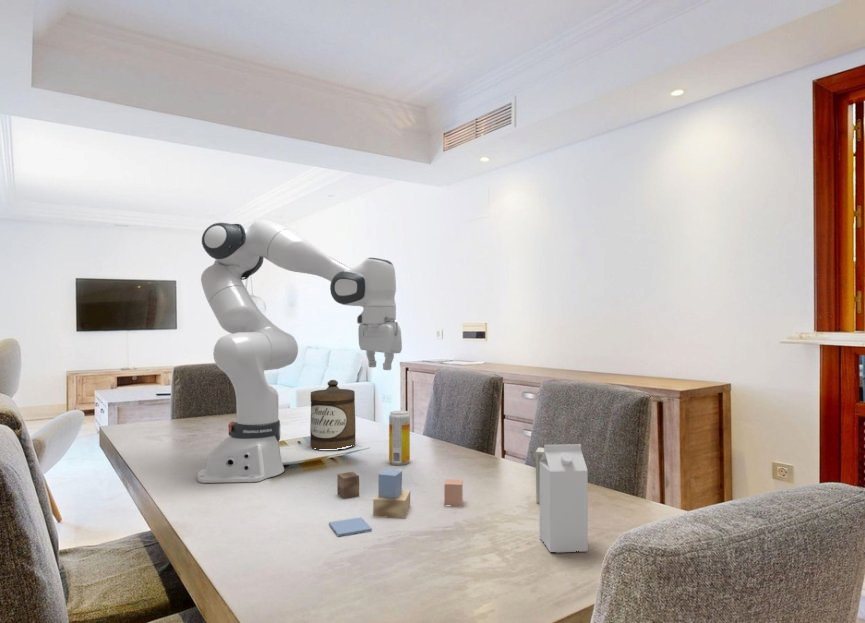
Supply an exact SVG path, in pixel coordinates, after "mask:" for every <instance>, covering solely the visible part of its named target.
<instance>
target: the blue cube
mask: <svg viewBox="0 0 865 623" xmlns="http://www.w3.org/2000/svg"><path fill="white" fill-rule="evenodd" d="M377 481H378V487H377V488H378V490H377V493H378V497H382V498H391V499H396V498H397V497H398V496H399V495H400V494H402V490H403V470H397V469H396V470H394V469H383V471H381V472H380V473H378V480H377Z"/></svg>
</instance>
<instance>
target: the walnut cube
mask: <svg viewBox="0 0 865 623" xmlns="http://www.w3.org/2000/svg"><path fill="white" fill-rule="evenodd" d="M336 488H337V490H336V492H337V496H339V497H340V498H341V499H343V500H346V499H353V498H357V497H360V475H359V474H357V473H355V472H354V471H349V472H343V473H337V486H336Z"/></svg>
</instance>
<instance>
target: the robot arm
mask: <svg viewBox="0 0 865 623" xmlns="http://www.w3.org/2000/svg"><path fill="white" fill-rule="evenodd" d="M201 245H202V247H203V249H204V251H205V253H207V255H208V256H209V257H211V258H212V259H214V263H213V264H212V265H210V266H207V268H205V270H203V272H202V274H201V277H200V281H201V286H202V289H203V292H204V295H205V298H206V300H207V302H208V304H209V307H210V308H211V310H212V312H213V314H214V317H216V320H217V321H218V323H219V326H220V327H221V328H222V329H223V330H224V331H225V332H227V333H229V334H226V335H224V336H221V337H220V338H219V339H218V340H217V341H216V343H215V345H214V347H213V359H214V362H215V365H216V366H217V368H218V369H219V370H220V371H222V372H223V373H224V374H225V375H226V376H227V377H228V379H229V380H230V382H231V384H232V387H233V389H234V393H235V400H236V403H235V404H236V405H235V407H236V421H230V422H229V423H228V437H226V439H224V440H223V441H221V443H219V444H217V445H216V446H215V447H214V448H213V449H212V450H211V451H210V452H209V454H208V457H207V460H206V465H205V467H203V468H200V470H198V472H197V478H196V480H197V481H198V482H199V483H200V484H201V483H203V484H209V483H210V484H215V483H217V484H218V483H256V482H261V481H263V480H265V479H268V478H269V479H270V478H271V477H272V478H273V477H276V476H279V475H281V474H282V473H283V472H284V471H285V467H284V464H283V460H282V455H281V447H280V440H281V421H280V420H279V394H278V391H277V389H276V388H274V387H273V386H272V385H270V384H268V381H267V380H266V375H265V371H271V370H272V371H273V370H279V369H281V368H285V367H287V366H290V365H292V364H293V363H294V362H295V360H296V359H297V357H298V354H299V346H298V342H297V340H296V338H295V337H294V336H293V335H292V334H290V333H288V332H285V331H284V330H282V329H281V328H279V327H278V326H277V325H276V324H274V323H273V322H272V321H271V320H270V319H268V317H266V315H265V314H263V313H262V311H261V310H260V309H259V307H258V306H257V304H256V303H255V301H254V300H253V298H252V296H251V295H250V293H249V291H248V289H247V288H246V286H245V285H244V283H243V280H247V279H248V278H250V276H252V275H253V274H255V273H257V272H258V271H259V270H260V269H261V267H262V265H263V263H264V259H266V260H267V261H269V262H270V263H272V264H273V265H274V266H277V267H279V268H282V269H283V270H287V271H290V272H295V273H299V274H300V273H301V274H308V275H313V276H317V277H320V278H323V279H325V280H327V281H328V282H330V285H329V286H330V289H329V290H330V295H331V298H333V300H334V301H335V302H336V303H338V304H340V305H344V306H350V307H361V308H363V309H362V311H361V313H360V314H359V315H358V316H357V318H356V323H357V324H358V329H357V330H358V334H357V336H358V346H359V349H360V350H361V351H365V352H366V353H365V354H366V358H367V361H368V362H367V363H368V365H367V366H368V367H369V368H377V360H376V356H375V355H376V353H381V354H383V356H384V362H383V363H382V369H383V371H391V370H392V363H393V361H394V356H395V354H400V353H401V352H402V349H403V344H402V343H403V342H402V331H401V327H400V325H399V323H398V321H397V305H396V301H395V295H396V291H397V280H396V270H395V266H394V264H393V263H392V261H390V260H387V259H382V258H378V257H367V258H365V259H364V260H363V261H362V262H361V263H360V264H358V265H356V266H354V267H352V268H351V267H349V266H347V265H345V264H344V263H342V262H340V261H338V260H336V259H335V258H332V257H331V256H328V255H327V254H326V253H325V252H323V251H322V250H320V249H319V248H317V247H316V246H314V245H313V244H312V243H310V241H308V240H307V239H305V238H304V237H303V236H302V235H300V234H298V233H297V232H295V231H294V230H292V229H290V228H289V227H286V226H284V225H283V224H281V223H278V222H275V221H273V220H271V219H270V220H269V219H265V218H262V219H258V220H255V221H254V222H253V223H251V225H250V226H249V227H247V228H244V226H243V225H241V224H240V223H227V222H215V223H213V224H211V225H209V226H208V227H207V228H206V229H205V230H204V231H203V232H202V237H201Z"/></svg>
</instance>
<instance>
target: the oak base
mask: <svg viewBox="0 0 865 623" xmlns="http://www.w3.org/2000/svg"><path fill="white" fill-rule="evenodd" d="M372 503H373V504H372V507H373V510H372V514H373V516H387V517H386V518H396V517H405V518H406V517H407V514H408V513H409V511H410V509H411V490H408V489H407V490H406V489H405V490H404V489H402V494H400V495H399V496H398V497H397V498H396V499H391V498H382V497H378V492H377V493H376V494H375V496H374V497H373V501H372ZM409 508H410V509H409ZM408 510H409V511H408ZM407 512H408V513H407Z"/></svg>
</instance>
